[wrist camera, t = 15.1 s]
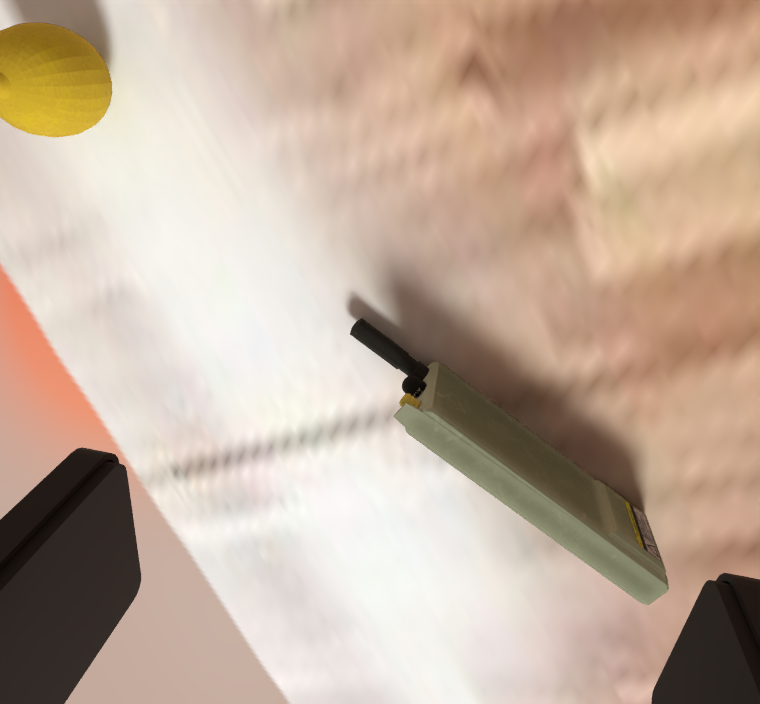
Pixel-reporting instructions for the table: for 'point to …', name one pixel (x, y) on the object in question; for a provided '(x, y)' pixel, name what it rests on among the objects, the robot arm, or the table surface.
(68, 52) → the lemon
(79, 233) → the table surface
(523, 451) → the handheld radio
